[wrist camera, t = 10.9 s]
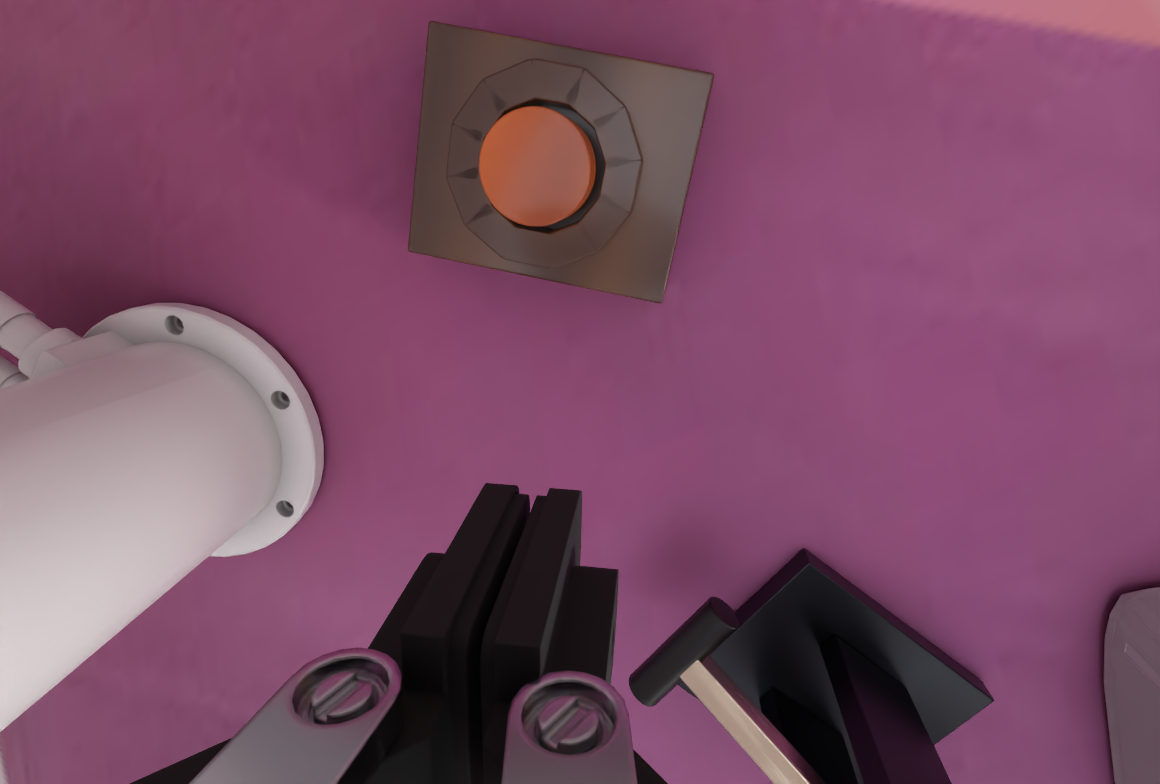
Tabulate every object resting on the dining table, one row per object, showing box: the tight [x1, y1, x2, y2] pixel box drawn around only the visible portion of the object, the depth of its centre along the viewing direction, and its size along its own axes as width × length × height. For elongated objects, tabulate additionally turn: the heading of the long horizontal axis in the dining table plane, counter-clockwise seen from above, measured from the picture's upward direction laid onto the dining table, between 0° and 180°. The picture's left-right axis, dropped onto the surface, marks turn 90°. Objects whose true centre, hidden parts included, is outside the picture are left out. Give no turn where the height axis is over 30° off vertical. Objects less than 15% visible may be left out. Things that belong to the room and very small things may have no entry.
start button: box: [479, 106, 596, 227], centre depth 21 cm, size 4×4×2 cm
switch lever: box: [629, 597, 827, 784], centre depth 24 cm, size 12×5×2 cm, turn 54°
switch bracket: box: [678, 549, 994, 784], centre depth 26 cm, size 11×9×12 cm
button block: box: [408, 21, 714, 303], centre depth 24 cm, size 10×8×4 cm
